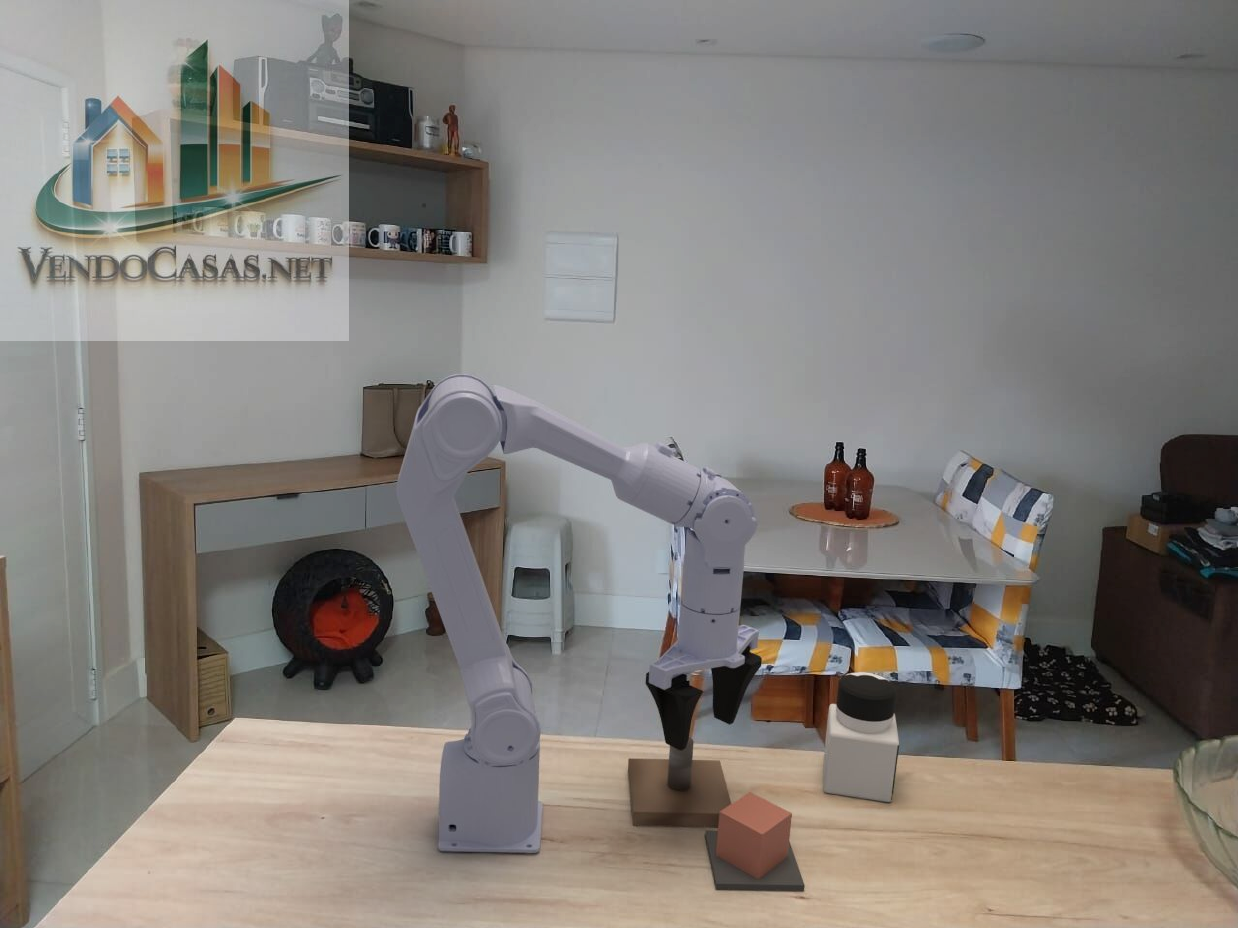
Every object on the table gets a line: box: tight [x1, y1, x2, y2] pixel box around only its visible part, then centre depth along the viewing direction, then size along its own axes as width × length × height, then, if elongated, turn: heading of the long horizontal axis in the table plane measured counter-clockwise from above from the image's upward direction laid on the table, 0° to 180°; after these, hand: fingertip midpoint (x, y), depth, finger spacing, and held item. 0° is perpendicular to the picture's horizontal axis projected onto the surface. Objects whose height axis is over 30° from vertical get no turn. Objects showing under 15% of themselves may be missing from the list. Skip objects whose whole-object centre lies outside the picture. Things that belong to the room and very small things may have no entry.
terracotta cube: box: [716, 791, 793, 879], centre depth 91 cm, size 5×5×5 cm
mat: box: [704, 829, 805, 892], centre depth 91 cm, size 8×8×1 cm
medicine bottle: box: [823, 671, 900, 803], centre depth 105 cm, size 7×7×12 cm
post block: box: [627, 736, 732, 828], centre depth 100 cm, size 10×10×6 cm
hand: (700, 732), depth 96 cm, fingers open, 7 cm apart
